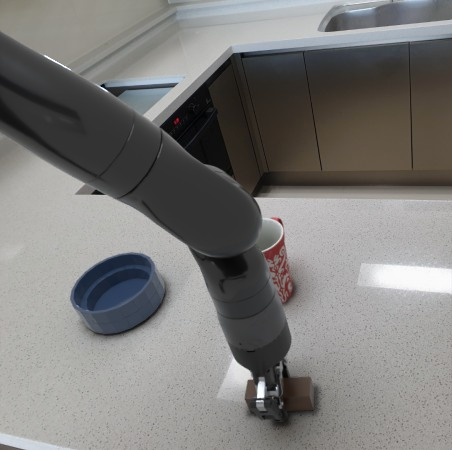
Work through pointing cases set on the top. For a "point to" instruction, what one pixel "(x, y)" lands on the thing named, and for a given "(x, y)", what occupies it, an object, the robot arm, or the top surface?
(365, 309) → the top surface
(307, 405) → the bar
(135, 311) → the bowl
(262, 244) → the mug
